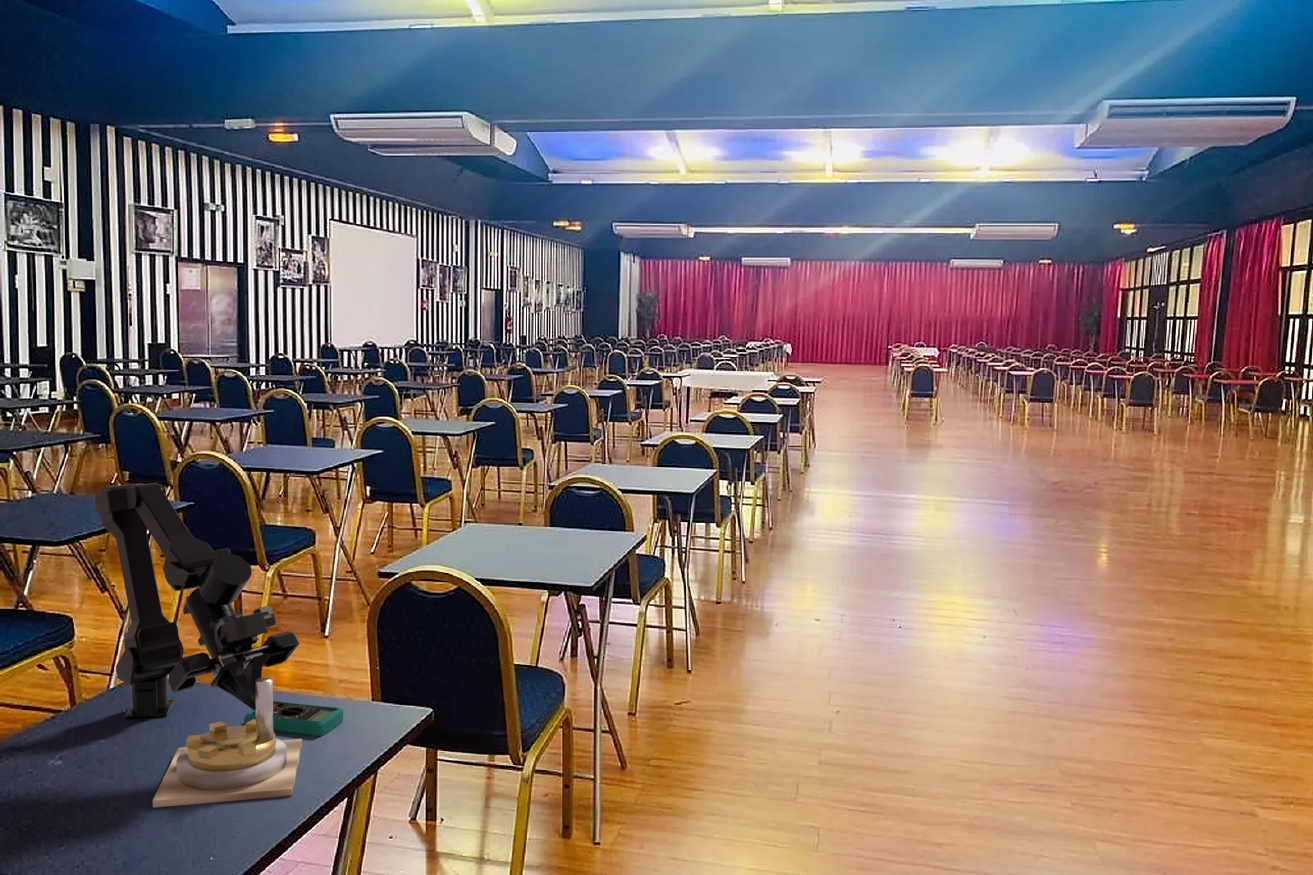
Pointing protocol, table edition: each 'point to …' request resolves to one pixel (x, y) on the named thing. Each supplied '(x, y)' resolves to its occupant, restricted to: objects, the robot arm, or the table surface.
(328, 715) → the digital multimeter
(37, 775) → the table surface
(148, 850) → the table surface
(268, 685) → the round base with post
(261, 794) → the cap housing
